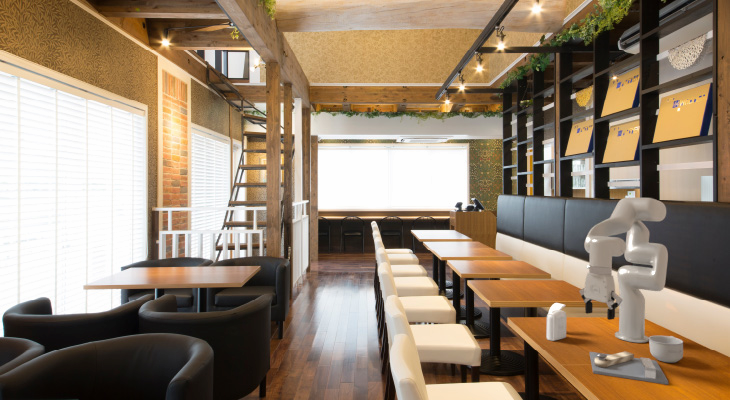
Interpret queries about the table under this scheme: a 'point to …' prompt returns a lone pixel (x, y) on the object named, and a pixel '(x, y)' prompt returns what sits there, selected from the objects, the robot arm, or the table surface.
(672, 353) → the teacup
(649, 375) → the keeper
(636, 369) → the slate board
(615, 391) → the table surface
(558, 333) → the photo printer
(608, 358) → the link
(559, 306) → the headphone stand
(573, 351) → the table surface
